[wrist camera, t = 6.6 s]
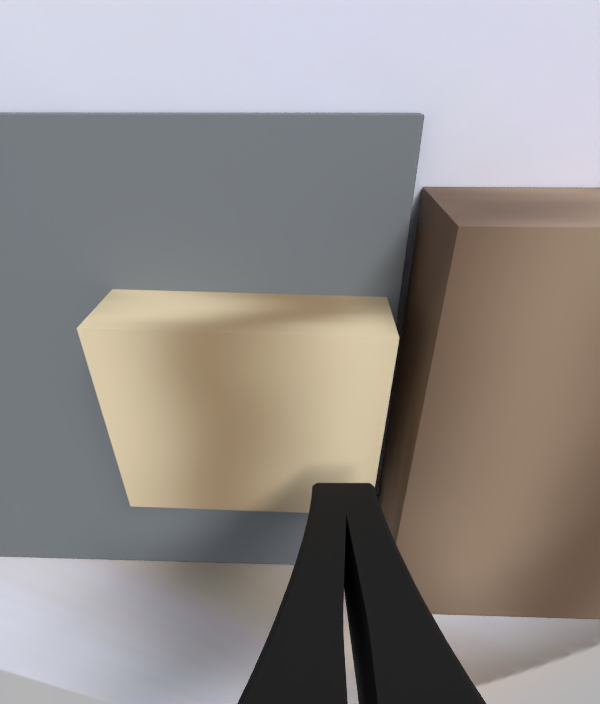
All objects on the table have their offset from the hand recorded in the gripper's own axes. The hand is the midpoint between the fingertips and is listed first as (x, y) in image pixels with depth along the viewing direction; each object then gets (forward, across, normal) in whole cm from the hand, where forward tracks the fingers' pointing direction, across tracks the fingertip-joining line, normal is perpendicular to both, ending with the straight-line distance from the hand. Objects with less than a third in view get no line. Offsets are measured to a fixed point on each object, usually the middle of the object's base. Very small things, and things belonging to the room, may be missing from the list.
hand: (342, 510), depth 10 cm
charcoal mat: (+4, +7, 0) cm, 8 cm away
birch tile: (+3, +2, -1) cm, 4 cm away
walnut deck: (+4, -8, 0) cm, 9 cm away
